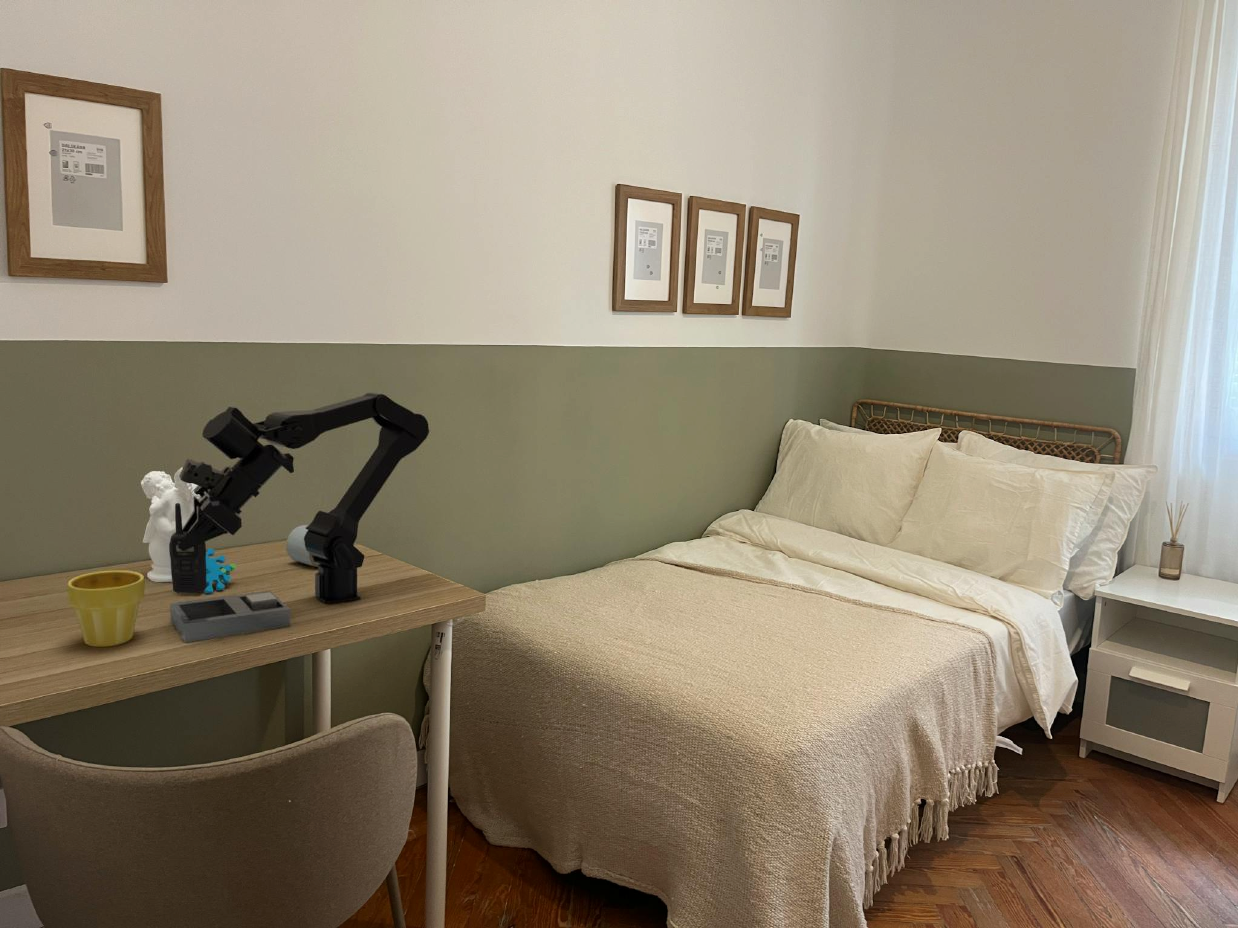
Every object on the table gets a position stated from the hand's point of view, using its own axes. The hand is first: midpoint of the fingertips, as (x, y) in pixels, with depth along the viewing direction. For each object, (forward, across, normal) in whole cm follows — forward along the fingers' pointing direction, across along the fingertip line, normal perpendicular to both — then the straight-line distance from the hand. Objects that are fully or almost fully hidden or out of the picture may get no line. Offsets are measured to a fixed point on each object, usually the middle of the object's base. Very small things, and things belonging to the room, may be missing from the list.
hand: (179, 545), depth 152 cm
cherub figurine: (+8, -30, +11) cm, 33 cm away
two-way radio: (+5, 0, +7) cm, 8 cm away
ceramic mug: (-9, -31, +29) cm, 44 cm away
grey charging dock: (+4, +3, +14) cm, 15 cm away
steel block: (+1, +3, +18) cm, 18 cm away
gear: (+6, -19, +13) cm, 24 cm away
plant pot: (+17, +4, +2) cm, 18 cm away
